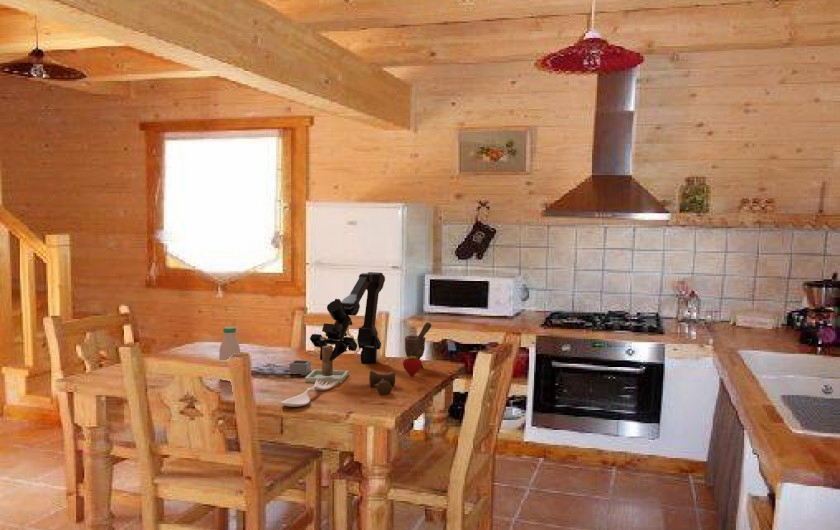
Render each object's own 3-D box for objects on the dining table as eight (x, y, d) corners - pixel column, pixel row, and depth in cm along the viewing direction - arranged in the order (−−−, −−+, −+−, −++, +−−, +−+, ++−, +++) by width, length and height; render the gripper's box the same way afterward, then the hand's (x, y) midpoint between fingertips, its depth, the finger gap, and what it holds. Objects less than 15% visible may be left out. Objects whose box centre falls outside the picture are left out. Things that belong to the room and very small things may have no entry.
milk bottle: (241, 380, 248) (241, 328, 247) (220, 382, 245) (220, 329, 244) (239, 376, 255) (238, 325, 254) (218, 377, 252) (218, 326, 251)
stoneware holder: (310, 372, 263) (311, 360, 262) (306, 376, 256) (306, 364, 256) (294, 372, 263) (294, 360, 263) (289, 376, 256) (289, 363, 256)
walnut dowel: (331, 373, 254) (331, 345, 253) (333, 375, 250) (333, 347, 249) (321, 374, 253) (321, 345, 252) (323, 376, 249) (323, 347, 248)
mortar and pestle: (433, 366, 277) (434, 320, 276) (429, 371, 269) (430, 323, 267) (406, 365, 279) (407, 318, 278) (402, 369, 271) (403, 321, 270)
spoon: (339, 388, 240) (340, 379, 240) (300, 412, 210) (300, 401, 209) (317, 386, 243) (317, 377, 243) (275, 409, 212) (275, 399, 212)
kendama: (370, 397, 230) (368, 381, 250) (397, 397, 231) (393, 382, 251) (371, 380, 229) (369, 366, 249) (398, 381, 231) (394, 366, 250)
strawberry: (420, 379, 255) (421, 353, 254) (401, 378, 256) (402, 353, 255) (422, 375, 261) (422, 350, 260) (403, 374, 262) (403, 350, 261)
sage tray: (348, 376, 258) (348, 370, 258) (341, 385, 244) (341, 379, 244) (313, 374, 259) (314, 369, 259) (304, 383, 245) (304, 377, 245)
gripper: (312, 313, 257) (296, 346, 248) (354, 316, 250) (339, 350, 240) (322, 330, 265) (307, 362, 256) (363, 334, 258) (349, 367, 248)
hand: (325, 360), depth 250 cm, fingers closed on walnut dowel, 4 cm apart
